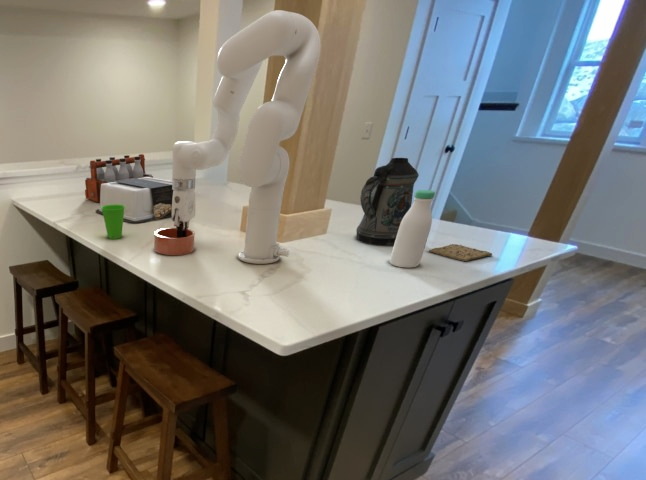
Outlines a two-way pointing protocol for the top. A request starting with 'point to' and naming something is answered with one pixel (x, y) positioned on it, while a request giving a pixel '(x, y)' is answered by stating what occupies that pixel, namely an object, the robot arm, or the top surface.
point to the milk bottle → (413, 231)
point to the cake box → (139, 198)
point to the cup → (113, 220)
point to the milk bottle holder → (113, 173)
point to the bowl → (173, 242)
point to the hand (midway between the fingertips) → (182, 240)
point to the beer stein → (386, 202)
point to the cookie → (460, 252)
